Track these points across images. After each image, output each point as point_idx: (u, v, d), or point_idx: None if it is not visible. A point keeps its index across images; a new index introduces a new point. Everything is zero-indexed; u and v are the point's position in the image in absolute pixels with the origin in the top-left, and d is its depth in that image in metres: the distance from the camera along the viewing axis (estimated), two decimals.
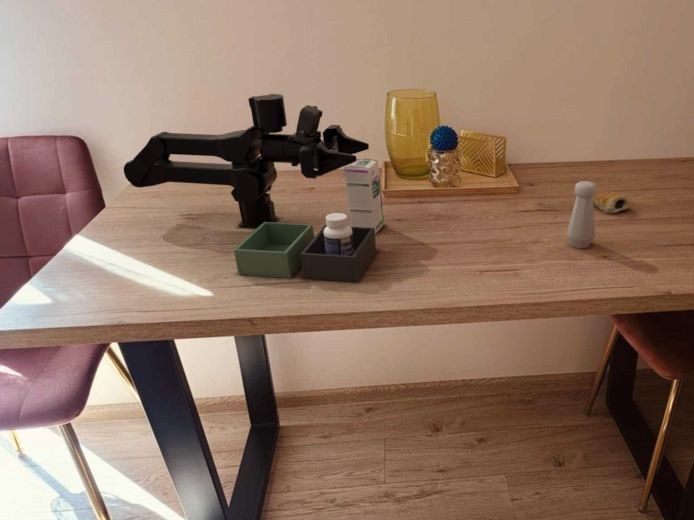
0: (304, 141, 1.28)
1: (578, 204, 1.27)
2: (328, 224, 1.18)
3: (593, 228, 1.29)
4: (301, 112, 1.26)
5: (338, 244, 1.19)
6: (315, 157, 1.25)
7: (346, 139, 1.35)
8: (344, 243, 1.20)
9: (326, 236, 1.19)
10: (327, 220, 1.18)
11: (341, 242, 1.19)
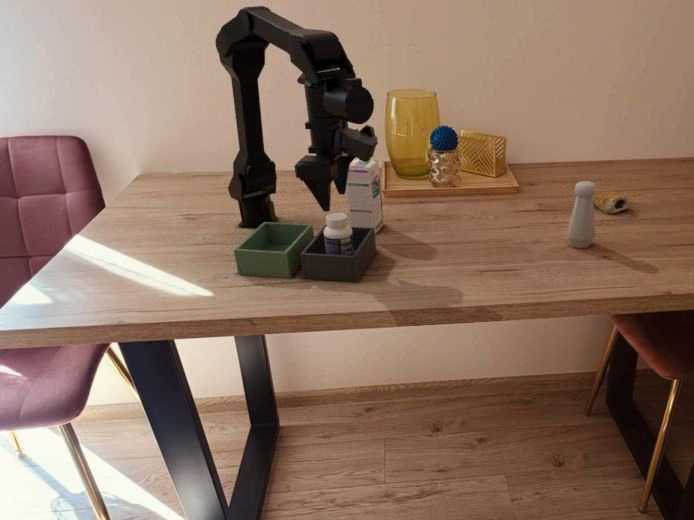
0: (336, 146, 1.09)
1: (578, 204, 1.27)
2: (328, 224, 1.18)
3: (593, 228, 1.29)
4: (368, 146, 1.09)
5: (338, 244, 1.19)
6: None
7: (346, 168, 1.19)
8: (344, 243, 1.20)
9: (326, 236, 1.19)
10: (327, 220, 1.18)
11: (341, 242, 1.19)
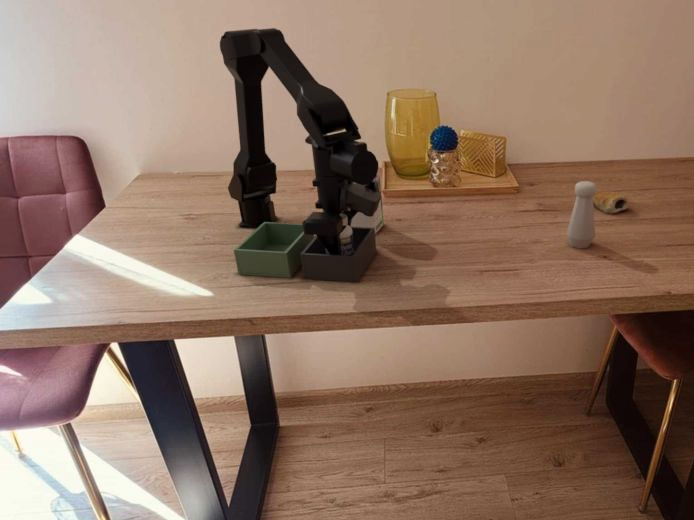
0: (342, 203, 1.14)
1: (578, 204, 1.27)
2: None
3: (593, 228, 1.29)
4: (372, 202, 1.14)
5: None
6: None
7: (348, 222, 1.23)
8: (344, 243, 1.20)
9: None
10: None
11: (341, 242, 1.19)
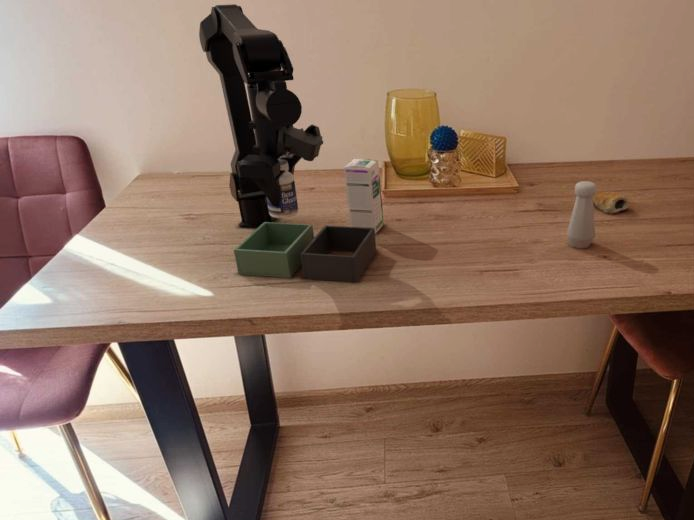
0: (280, 146, 1.10)
1: (578, 204, 1.27)
2: None
3: (593, 228, 1.29)
4: (311, 146, 1.10)
5: None
6: None
7: (290, 170, 1.19)
8: (285, 190, 1.16)
9: None
10: None
11: (282, 189, 1.15)
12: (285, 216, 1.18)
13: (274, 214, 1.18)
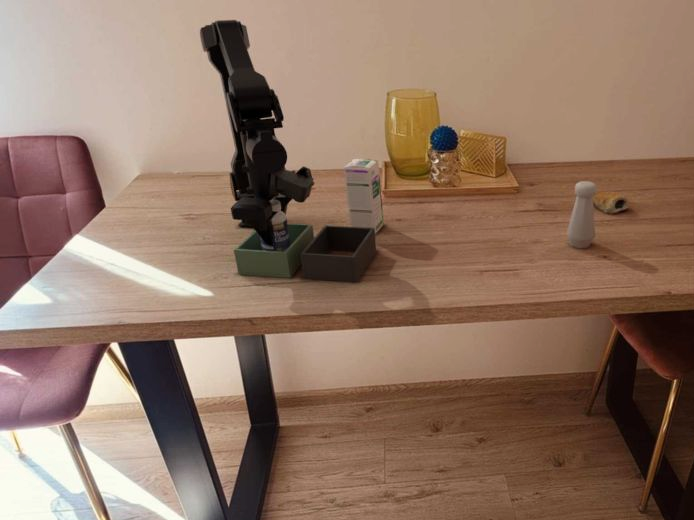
0: (272, 188, 1.15)
1: (578, 204, 1.27)
2: None
3: (593, 228, 1.29)
4: (302, 188, 1.15)
5: None
6: None
7: (283, 209, 1.24)
8: (278, 229, 1.20)
9: None
10: None
11: (274, 228, 1.20)
12: None
13: None
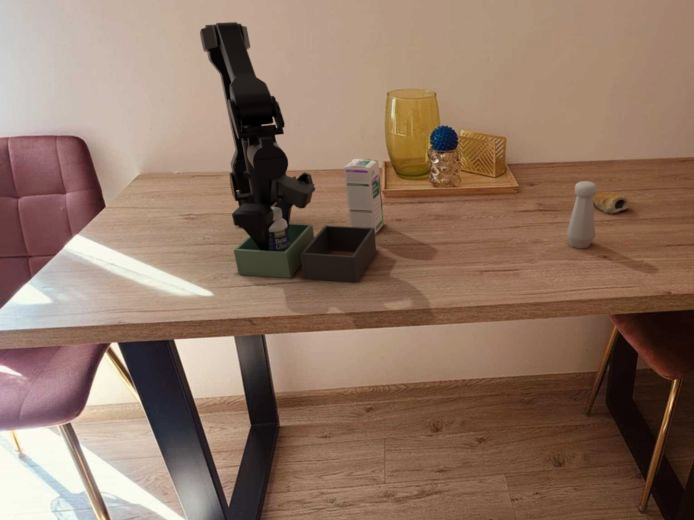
0: (273, 194, 1.15)
1: (578, 204, 1.27)
2: None
3: (593, 228, 1.29)
4: (303, 194, 1.15)
5: (272, 238, 1.21)
6: None
7: (287, 211, 1.25)
8: (279, 237, 1.21)
9: None
10: None
11: (275, 235, 1.21)
12: None
13: None
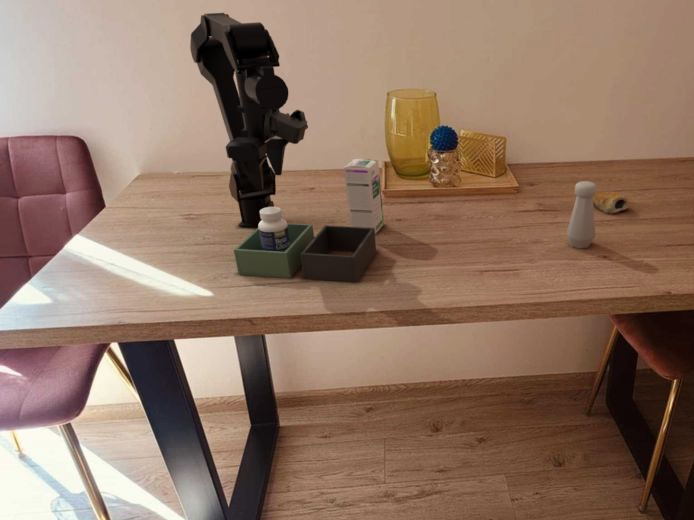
0: (266, 129, 1.17)
1: (578, 204, 1.27)
2: (262, 218, 1.20)
3: (593, 228, 1.29)
4: (296, 129, 1.17)
5: (272, 238, 1.21)
6: None
7: (281, 150, 1.28)
8: (279, 237, 1.21)
9: (260, 229, 1.21)
10: (261, 214, 1.20)
11: (275, 235, 1.21)
12: None
13: None
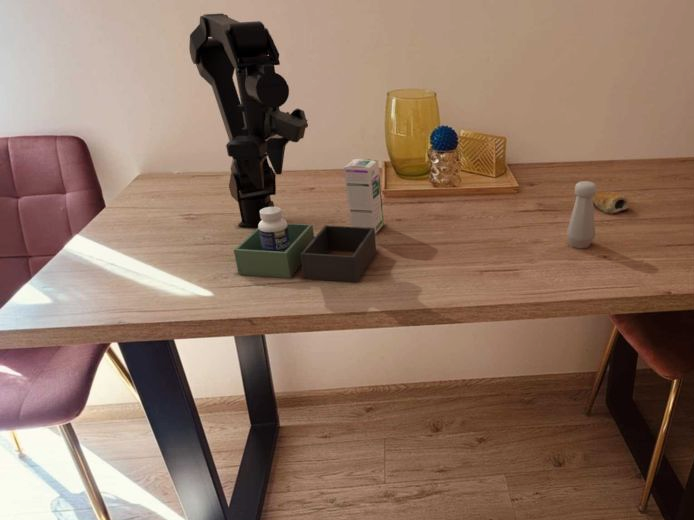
0: (266, 128, 1.18)
1: (578, 204, 1.27)
2: (262, 218, 1.20)
3: (593, 228, 1.29)
4: (296, 127, 1.18)
5: (272, 238, 1.21)
6: None
7: (281, 149, 1.28)
8: (279, 237, 1.21)
9: (260, 229, 1.21)
10: (261, 214, 1.20)
11: (275, 235, 1.21)
12: None
13: None
